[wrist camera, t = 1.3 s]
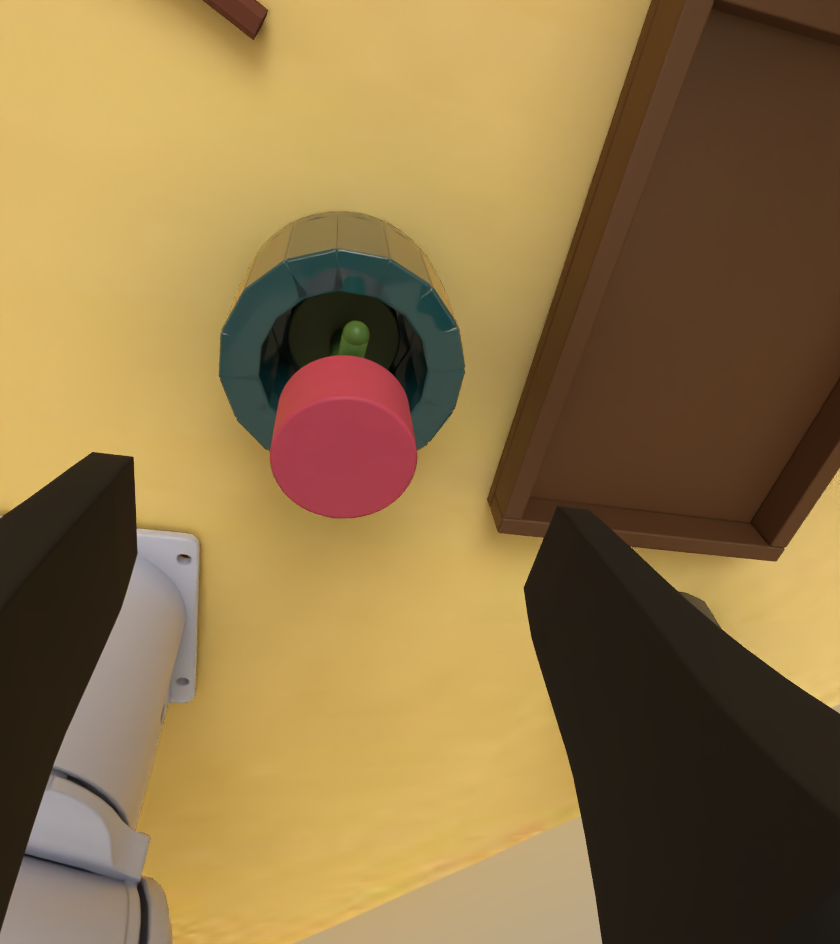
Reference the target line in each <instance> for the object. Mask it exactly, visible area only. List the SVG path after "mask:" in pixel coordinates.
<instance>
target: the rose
mask: <svg viewBox="0 0 840 944" xmlns="http://www.w3.org/2000/svg"><path fill="white" fill-rule="evenodd" d="M287 340H288V346H289V350H290V353H291V356H292V358H293V360H294V361H295V363H296V365H297V366H298V367H299V369H300V370H298V371H297V372H296V373H295V374H294V375H293V376H292V377H291V378H290V379H289V381H288V382H287V383H286V385H285V387H284V389H283V390H282V392H281V395H280V398H279V403H278V408H277V414H276V420H275V426H274V431H273V437H272V443H271V449H270V463H271V469H272V472H273V475H274V477H275V479H276V482H277V483H278V485H279V486H280V488H281V489H282V491H283V492H284V493H285V494H286V495H287V496H288V497H289V498H290V499H291V500H292V501H293V502H294V503H296V504H297V505H299V506H300V507H302V508H304V509H306V510H308V511H310V512H313V513H315V514H318V515H322V516H326V517H332V518H356V517H362V516H366V515H370V514H372V513H375V512H378V511H380V510H382V509H384V508H385V507H387V506H389V505H390V504H392V503H393V502H394V501H395V500H396V499H398V498H399V497H400V496H401V495H402V493H403V492H404V491H405V490H406V488H407V487H408V485H409V484H410V482H411V480H412V478H413V476H414V473H415V470H416V465H417V448H416V442H415V436H414V430H413V425H412V419H411V413H410V408H409V402H408V399H407V396H406V393H405V391H404V389H403V387H402V386H401V384H400V383H399V381H398V380H397V379H396V378H395V377H394V376H393V375H392V374H391V373H390V372H389V371H388V370H389V369H390V367H391V366H392V364H393V363H394V361H395V359H396V356H397V354H398V350H399V345H400V331H399V325H398V319H397V314H396V311H395V310H394V309H393V308H391V307H389V306H388V305H386V304H385V303H383V302H381V301H380V300H378V299H377V298H375V297H369V296H363V295H357V294H351V293H346V292H340V291H338V292H333V293H329V294H324V295H320V296H315V297H310V298H306V299H304V300H303V301H301V302H300V303H299V304H297V305H296V306H294V307H293V308H292V309H291V313H290V319H289V324H288V330H287Z"/></svg>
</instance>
